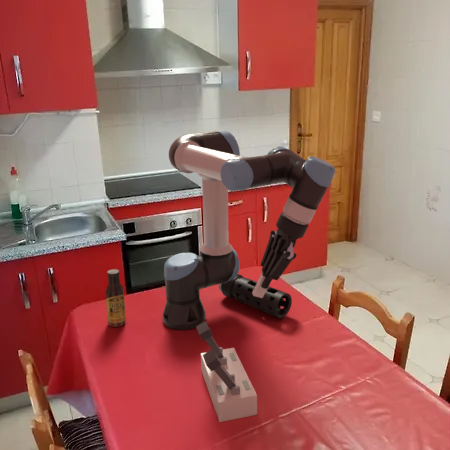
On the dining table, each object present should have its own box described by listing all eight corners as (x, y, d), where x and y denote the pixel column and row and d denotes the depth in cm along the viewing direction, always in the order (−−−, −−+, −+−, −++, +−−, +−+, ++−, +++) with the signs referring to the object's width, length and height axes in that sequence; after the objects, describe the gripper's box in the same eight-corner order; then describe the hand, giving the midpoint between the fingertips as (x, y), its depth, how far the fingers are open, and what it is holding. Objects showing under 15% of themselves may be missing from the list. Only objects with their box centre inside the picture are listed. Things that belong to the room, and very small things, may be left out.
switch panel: (234, 364, 143) (233, 341, 140) (257, 414, 122) (257, 388, 120) (201, 370, 140) (200, 347, 138) (219, 422, 120) (218, 396, 118)
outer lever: (233, 375, 125) (212, 348, 121) (238, 385, 121) (216, 358, 117) (224, 381, 125) (202, 355, 121) (228, 392, 121) (206, 365, 117)
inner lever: (222, 348, 137) (205, 321, 133) (226, 356, 133) (208, 329, 129) (213, 353, 137) (196, 326, 132) (216, 362, 133) (199, 334, 128)
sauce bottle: (110, 329, 163) (104, 277, 157) (106, 321, 168) (99, 270, 162) (129, 324, 166) (123, 272, 159) (124, 316, 171) (118, 266, 165)
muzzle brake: (275, 325, 163) (275, 298, 160) (217, 300, 182) (216, 275, 178) (292, 314, 170) (292, 288, 166) (234, 291, 188) (233, 267, 185)
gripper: (318, 233, 114) (277, 312, 122) (298, 211, 125) (262, 285, 133) (292, 225, 111) (251, 306, 119) (274, 203, 123) (238, 279, 130)
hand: (257, 295), depth 126 cm, fingers closed
